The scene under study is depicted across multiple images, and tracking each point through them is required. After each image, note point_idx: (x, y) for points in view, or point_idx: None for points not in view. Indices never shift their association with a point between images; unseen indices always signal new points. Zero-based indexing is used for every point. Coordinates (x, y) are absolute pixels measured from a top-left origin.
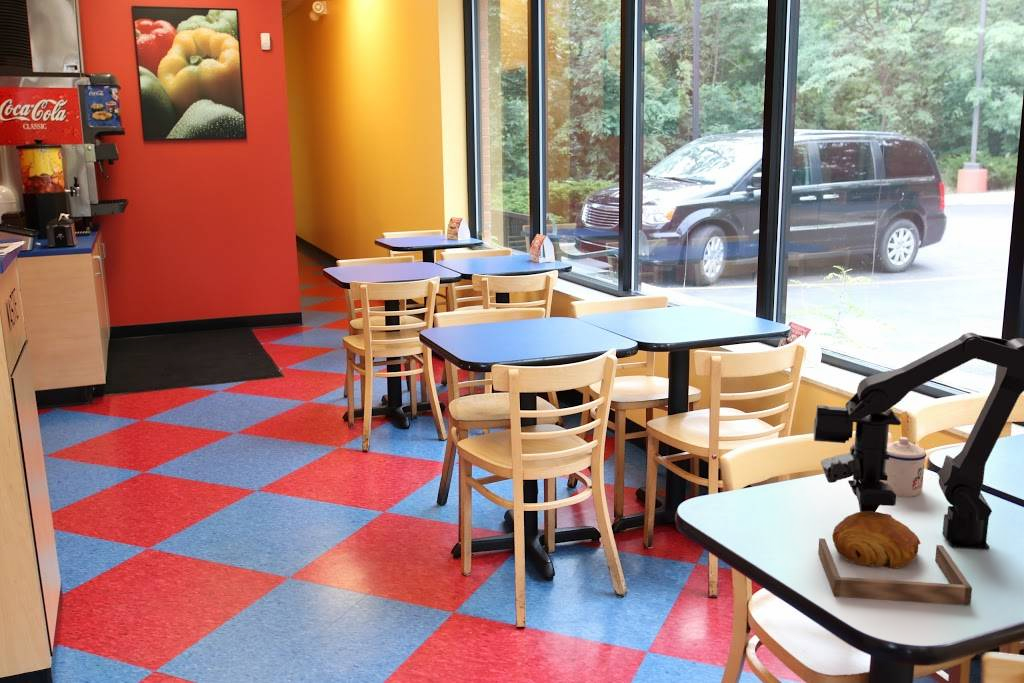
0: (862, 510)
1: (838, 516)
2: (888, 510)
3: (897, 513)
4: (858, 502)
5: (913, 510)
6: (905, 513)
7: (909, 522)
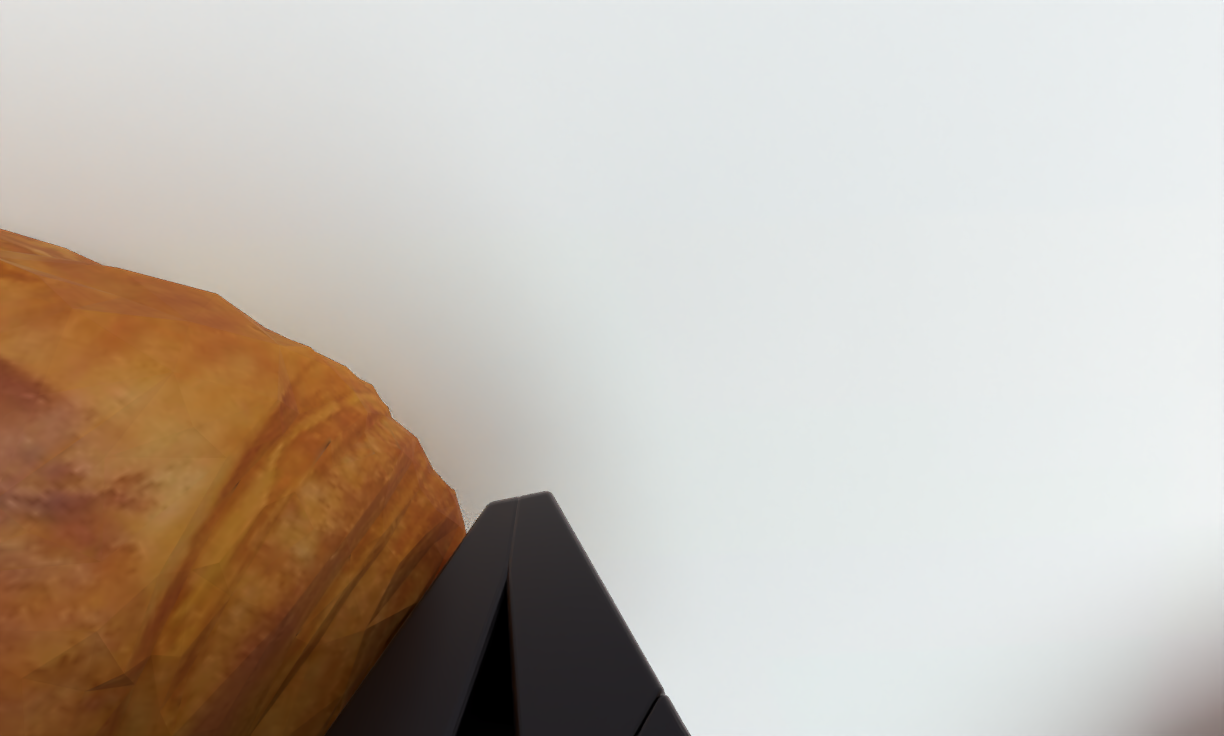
0: (355, 717)
1: (1034, 71)
2: (1195, 589)
3: (1114, 649)
4: (657, 707)
5: (1172, 728)
6: (1111, 693)
7: (909, 725)
